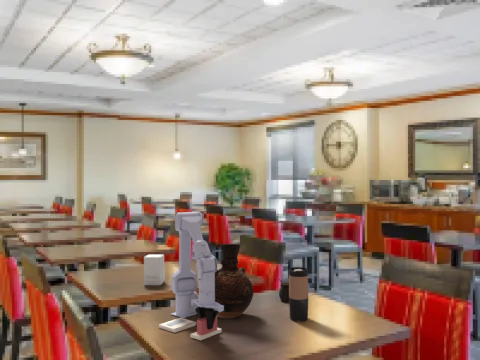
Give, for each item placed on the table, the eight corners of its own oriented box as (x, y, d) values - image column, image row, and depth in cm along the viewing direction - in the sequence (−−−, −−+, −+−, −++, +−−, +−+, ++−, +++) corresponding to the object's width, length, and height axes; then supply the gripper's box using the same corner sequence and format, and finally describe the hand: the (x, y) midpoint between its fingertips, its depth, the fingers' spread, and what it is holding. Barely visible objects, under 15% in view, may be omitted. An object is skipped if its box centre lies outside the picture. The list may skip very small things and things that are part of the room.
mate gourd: (294, 303, 209) (293, 280, 209) (277, 302, 211) (276, 280, 211) (295, 298, 216) (295, 277, 216) (279, 298, 218) (278, 276, 218)
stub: (211, 329, 174) (211, 312, 174) (221, 332, 171) (221, 315, 171) (190, 337, 166) (190, 320, 166) (200, 340, 163) (200, 322, 163)
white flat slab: (180, 320, 186) (180, 317, 186) (196, 325, 180) (196, 321, 180) (158, 327, 177) (158, 324, 177) (174, 332, 171) (174, 329, 171)
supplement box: (165, 281, 253) (164, 254, 253) (160, 285, 244) (160, 257, 244) (148, 281, 254) (148, 254, 254) (143, 285, 245) (143, 256, 245)
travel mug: (306, 315, 191) (306, 266, 191) (310, 321, 183) (309, 270, 183) (288, 315, 191) (287, 267, 190) (290, 321, 183) (290, 271, 183)
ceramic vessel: (216, 326, 178) (215, 248, 178) (196, 314, 193) (196, 242, 193) (262, 317, 189) (261, 243, 188) (240, 307, 204) (240, 238, 203)
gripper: (184, 289, 170) (185, 326, 170) (214, 296, 160) (214, 335, 161) (198, 285, 175) (199, 321, 175) (227, 291, 166) (227, 329, 166)
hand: (207, 327), depth 168 cm, fingers closed on stub, 2 cm apart
